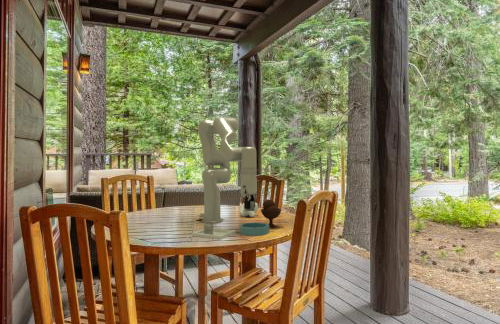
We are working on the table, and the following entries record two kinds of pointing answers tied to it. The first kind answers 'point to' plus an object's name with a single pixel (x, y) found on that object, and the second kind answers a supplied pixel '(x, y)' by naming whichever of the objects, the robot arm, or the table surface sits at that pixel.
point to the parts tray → (215, 233)
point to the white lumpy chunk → (250, 213)
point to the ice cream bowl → (270, 211)
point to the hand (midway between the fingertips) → (249, 207)
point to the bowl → (254, 229)
